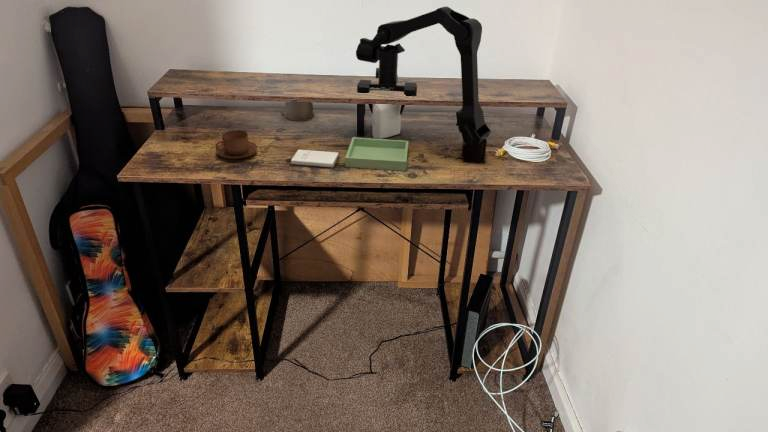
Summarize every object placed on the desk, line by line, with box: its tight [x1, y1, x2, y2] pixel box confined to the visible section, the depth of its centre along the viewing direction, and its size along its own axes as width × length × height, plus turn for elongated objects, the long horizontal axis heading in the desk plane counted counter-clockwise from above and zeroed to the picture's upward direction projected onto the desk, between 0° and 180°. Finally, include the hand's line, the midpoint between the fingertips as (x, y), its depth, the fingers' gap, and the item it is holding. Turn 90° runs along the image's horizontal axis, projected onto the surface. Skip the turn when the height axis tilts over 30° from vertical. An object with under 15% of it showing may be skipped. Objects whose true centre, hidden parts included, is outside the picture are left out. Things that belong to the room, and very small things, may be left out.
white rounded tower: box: [371, 103, 402, 139], centre depth 167 cm, size 10×4×12 cm, turn 129°
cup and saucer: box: [215, 129, 258, 160], centre depth 152 cm, size 12×12×6 cm
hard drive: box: [290, 149, 340, 169], centre depth 151 cm, size 2×8×12 cm
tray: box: [344, 136, 409, 172], centre depth 154 cm, size 18×16×3 cm
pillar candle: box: [284, 101, 314, 122], centre depth 180 cm, size 10×10×15 cm
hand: (386, 113), depth 167 cm, fingers open, 9 cm apart
